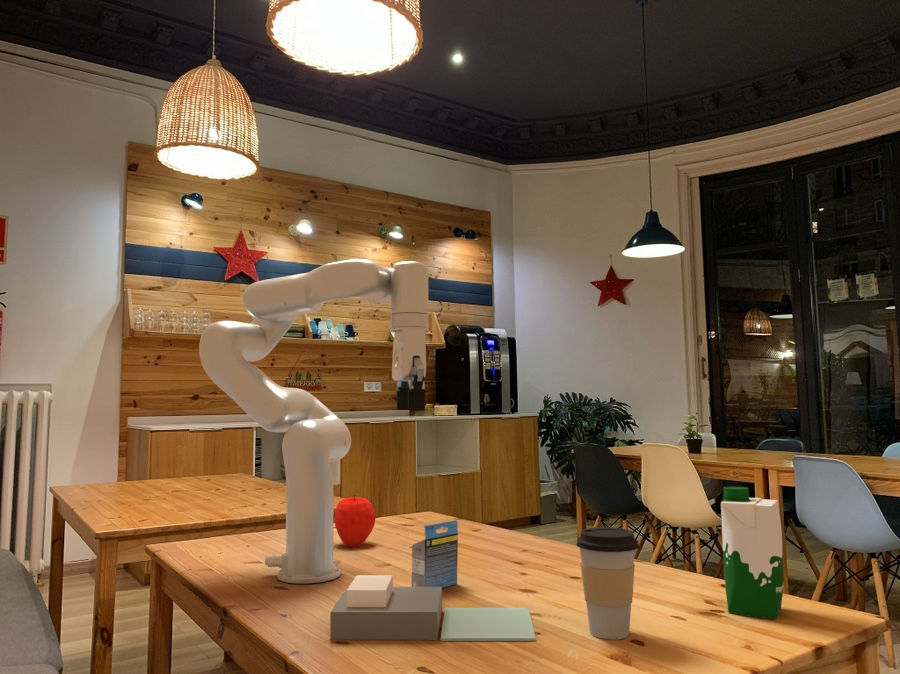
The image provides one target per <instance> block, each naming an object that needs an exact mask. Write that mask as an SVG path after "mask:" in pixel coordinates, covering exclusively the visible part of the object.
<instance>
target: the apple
mask: <svg viewBox="0 0 900 674" xmlns="http://www.w3.org/2000/svg"><path fill="white" fill-rule="evenodd" d="M375 513H376V512H375V509H374V506H373V504H372V503H371V501H370V500H368V499H367V498H365V497H356V496H355V494H354V495H353V497H350V496H349V497H344V498H341V500H339V501H338V503H337V505H336V508H335V509H334V526H335V529H336V531H337V534H338V536H339V538H340V540H341V542H342V543H343V544H344V546H347V547H350V548H351V547H352V548H353V547H354V548H355V546H357V547H360V546H361V545H363V544H364V543H365V542H366V540H367V539H368V537H369V536H370V534H371V533H372V531H373V530H374V527H375V523H376V514H375Z"/></svg>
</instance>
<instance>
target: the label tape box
mask: <svg viewBox="0 0 900 674" xmlns="http://www.w3.org/2000/svg"><path fill="white" fill-rule="evenodd" d="M441 528H442V529H444V530H445V529H446V531H443V532H437V530H440V529H441ZM423 529H424V539H422V540H420V541H417V542H416V543H413V544H411V587H442V589H443V588H446V587H451V586H454V585H458V563H459V562H458V557H459V556H458V555H459V553H458V552H459V551H458V550H459V549H458V547H459V546H458V545H459V544H458V543H459V537H458V536H459V533H458V532H459V531H458V519H455V520H449V521H443V522H438V523H432V524H424V525H423Z"/></svg>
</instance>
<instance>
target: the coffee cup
mask: <svg viewBox="0 0 900 674" xmlns="http://www.w3.org/2000/svg"><path fill="white" fill-rule="evenodd" d="M575 545H576V547H577V548H579V554H580V570H581V579H582V586H583V587H582V588H583V594H584V601H585V604H586V610H587V618H588V619H587V620H588V625H589V626H588V627H589V632H590V635H592V636H593V637H595V638H599V639H603V640H604V639H605V640H615V641H616V640H623V639H626V638H627V637H629V635H630V627H631V626H630V625H631V610H632V603H633V595H634V582H635V581H634V580H635V566H636V565H635V562H634V561H635V551H636V550H638V549H639V548H640V545H639V540H638V539H637V538H635V534H634V532H633V531H632V530H629V529H625V528H621V527H620V528H618V527H609V526H608V527H605V526H604V527H589V528H585V529H582V530H581V531H580V536H578V537H577V538H576V543H575Z"/></svg>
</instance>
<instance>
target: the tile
mask: <svg viewBox="0 0 900 674" xmlns="http://www.w3.org/2000/svg"><path fill="white" fill-rule="evenodd" d="M393 580H394V577H393V574H392V575H391V574H389V575H388V574H387V575H385V574H384V575H383V574H381V575H380V574H379V575H377V574H373V575H372V574H371V575H369V574H368V575H366V574H365V575H364V574H363V575H359V574H358V575H356V576H355V577H354V579H353V580H352V582H351V583H350V585H349V586H348V587H349V588H348V589H347V607H386V605H387V603H388V601H389V598H390V596H391V594H392V592H393V587H394V581H393Z"/></svg>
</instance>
